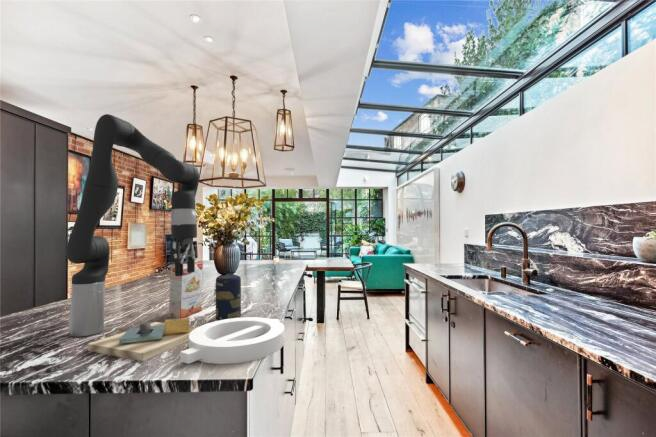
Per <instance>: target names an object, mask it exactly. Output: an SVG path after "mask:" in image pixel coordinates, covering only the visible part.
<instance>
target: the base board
mask: <svg viewBox="0 0 656 437" xmlns="http://www.w3.org/2000/svg"><path fill="white" fill-rule="evenodd" d="M169 319H177V312H172V313H170V318H169ZM158 325H165V322H159V321H154V322H149V321H147V322H145V321H144V322H142V323H140V324H139V327H140V334H144V333H151V326H158ZM198 327H199V326H190V325H189V332H183V333H174V334H164V336H163V338H162V339H158V340H149V341H140V342H131V343H122V344H119V339H120V338H121V337H122V336H123V335H124V334H125V333H126V331H124V332H120V333H117V334H115V335H111V336H108V337H105V338H101V339H98V340H95V341H93V342H89V343H87V351H88V352H93V353H97V354H104V355H108V356H114V357H117V358H123V359H124V358H126V359H129V360H134V361H139V362H140V361H141V362H145V361H146V360H147V361H148V360H149V359H151V358H153V357H156V356H159V355H160V354H163V353H165V352H168V351H170V350H172V349H174V348H176V347H178V346H181V345H183V344H185V343H189V334H190V333H191V332H192V331H193V330H194V329H196V328H198Z"/></svg>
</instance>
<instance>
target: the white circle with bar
mask: <svg viewBox="0 0 656 437" xmlns="http://www.w3.org/2000/svg"><path fill="white" fill-rule="evenodd" d="M197 327H198V328H196V329H194V330H193V331H192V332H191V333H190V334H189V341H188V349H184V350H182V351H180V362H183V363H185V364H188V365H189V364H191V363H194V362H196V361H199V362H203V363H207V364H216V365H217V364H218V365H219V364H224V365H227V364H240V363H246V362H251V361H255V360H256V361H257V360H259V359H263V358H266V357H268V356H271V355H273V354H274V353H277V352H278V351H279V350H281V349H282V348H283V347H284V345H285V325H284V323H282V319H277V318H268V317H260V316H259V317H258V316H257V317H256V316H253V317H251V316H246V317H241V316H240V318H231V319H224V320H215V321H211V322H207V323H205V324H202V325H200V326H197Z"/></svg>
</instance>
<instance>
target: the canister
mask: <svg viewBox="0 0 656 437" xmlns="http://www.w3.org/2000/svg"><path fill="white" fill-rule="evenodd" d="M241 316H242V278H241V276H240V275H238V274H232V273H227V274H225V275H220V276H217V277H216V279H215V319H216V321H219V320H224V319H231V318H241Z"/></svg>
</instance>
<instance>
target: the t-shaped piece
mask: <svg viewBox="0 0 656 437" xmlns="http://www.w3.org/2000/svg"><path fill="white" fill-rule="evenodd" d="M164 323H165V325H158V326H151V333H144V334H140V326H138V327H131V328H130V327H129V328H128V329H127V330H126V331H125V332H126V333H125V334H124V335H123V336H122V337H121V338H120V339H119V344H122V343H131V342H140V341H149V340H158V339H162V338H163V336H164V334H174V333H183V332H189V326H190V317H189V316H187V317H183V318H177V319H170V318H168V319H165V320H164Z"/></svg>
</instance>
